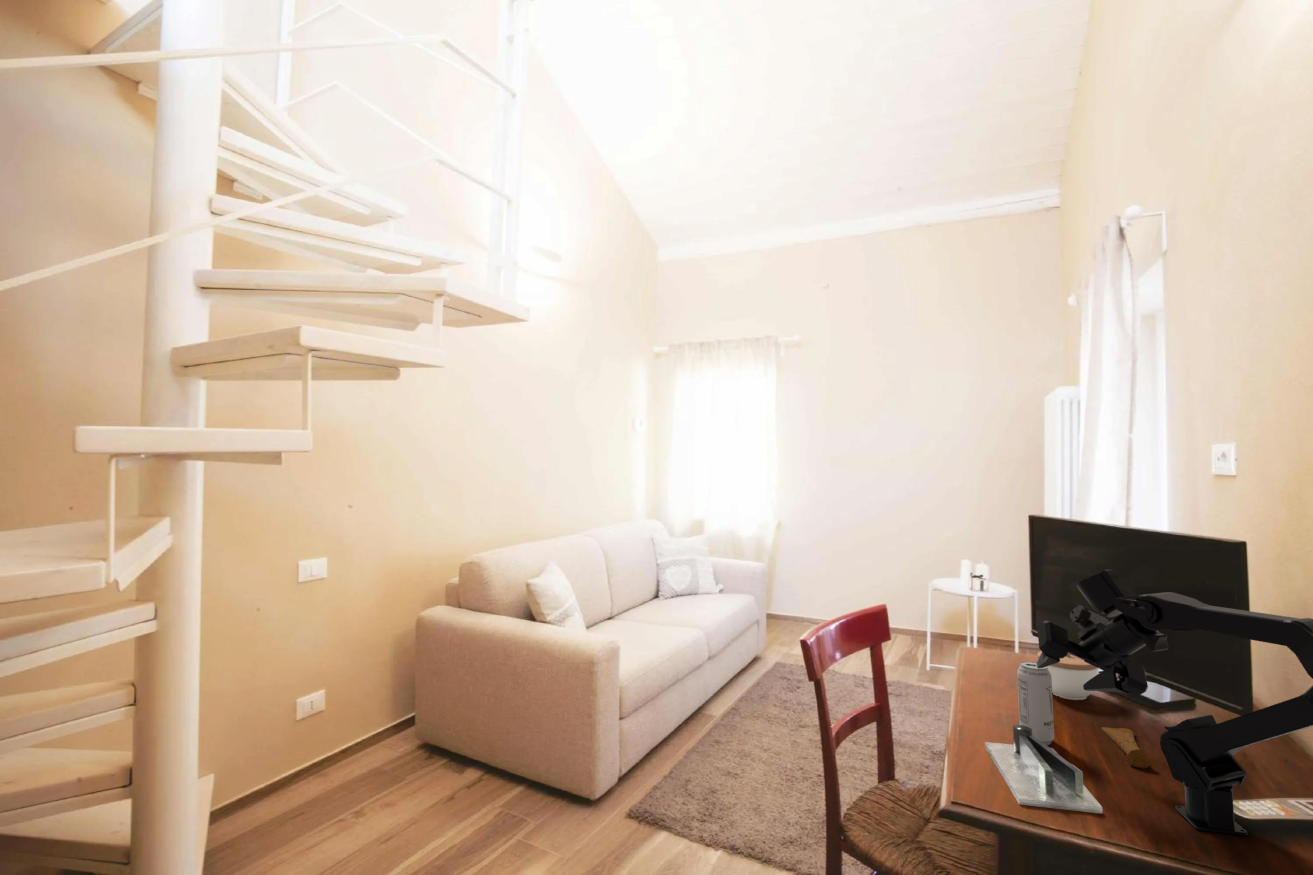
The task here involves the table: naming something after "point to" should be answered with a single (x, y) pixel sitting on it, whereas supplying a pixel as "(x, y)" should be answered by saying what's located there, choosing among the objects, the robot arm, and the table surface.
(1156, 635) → the robot arm
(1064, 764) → the green glass bar
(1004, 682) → the table surface
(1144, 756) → the primitive tool
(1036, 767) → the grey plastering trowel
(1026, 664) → the energy drink can
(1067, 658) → the lidded bowl
